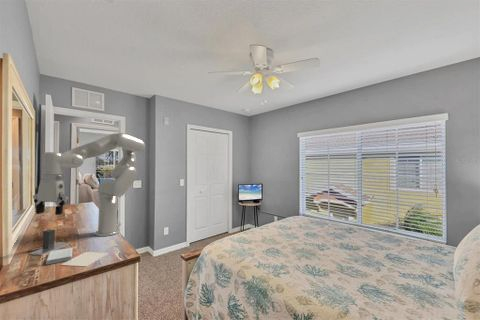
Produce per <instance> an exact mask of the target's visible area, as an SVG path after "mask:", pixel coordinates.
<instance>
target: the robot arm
mask: <svg viewBox="0 0 480 320" xmlns="http://www.w3.org/2000/svg"><path fill="white" fill-rule="evenodd" d="M117 148H121V151H122V157H121V159H120V160H119V162H118V163H117V165H116V166H115V167H114V168H113V169H112V171H111V177H112V178H113V179H104V180H102V181H100V183H99V184H98V187H97V192H98V193H97V194H98V221H97V223H98V224H97V230H96V231H94V235H95V236H97V237H108V236H114V235H116V234H119V233H120V231H121V230H120V229H119V228H118V227H120V226H121V225H122V223H121V222H118V210H119V209H118V205H119V204H118V203H119V201H118V198H119V197H123V196H125V194H126V193H127V192H128V191H129V190H130V188H131V186H132V185H133V183H134V182H135V180H136V179H137V176H138V170H137V168H136V167H134V166H135V165H136V162H137V157H136V154H140V153H142V152H144V151H145V149H146V144H145V142H144V141H143V140H142V139H139V138H137V137H135V136H132V135H130V134H127V133H123V132H117V133H115V132H114V133H111V134H109V135H105V136H103V137H101V138H99V139H96V140H94V141H91V142H88V143H85V144H83V145H79V146H77V147H74V148H72V149H69V150H67V151H64V152H62V153H61V152H55V151H53V152H52V151H51V152H50V151H45V152H44V153H43V155H42V162H41V163H42V164H41V179H40V181H39V185H38V190H37V193H36V194H34V195H32V198H33V201H34V203H35V206H36V210H35V212H36V215H40V214H44V213H45V203H54V204H55V205H56V206H55V213H54V214H55V215H56V216H58V215H62V214H64V213H63V211H64V209H63V208H64V206H65V204H66V203H67V201H68V199H69V196H68V195H66V194H65V192H66V191H65V182H64V180H63V179H64V176H63V171H64V170H63V168H67V169H68V168H69V169H75V168H76V169H77V168H79V167H81V166H82V165H83V164H84V162H85V161H84V160H86V159H90V158H95V157H96V158H97V157H101V156H103V155H105V154H107V153H108V152H110V151H112V150H114V149H117ZM117 230H118V231H119V233H118V231H117Z"/></svg>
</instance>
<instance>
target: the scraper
mask: <svg viewBox="0 0 480 320" xmlns="http://www.w3.org/2000/svg"><path fill="white" fill-rule="evenodd" d="M55 237H56V229H46V230H43V231H42V247H41V248H40V249H37V250H35V251H32V252H30V253H29V254H30V255H32V256H45V255H47V254H49V252H50V251H55V250H60V249H63V248H64V247H66V246H69V245H70V244H71V243H70V242H65V241H64V242H63V241H59V242H55Z"/></svg>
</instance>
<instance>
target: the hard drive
mask: <svg viewBox="0 0 480 320" xmlns="http://www.w3.org/2000/svg"><path fill="white" fill-rule="evenodd" d="M73 248H74V247H68V248H59V249H57V250H55V251H50V252H49V253H48V255H47V258H46V262H45V265H52V264H57V263H64V262H67V261H69V260H71V259H73Z"/></svg>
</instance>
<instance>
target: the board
mask: <svg viewBox="0 0 480 320" xmlns="http://www.w3.org/2000/svg"><path fill="white" fill-rule="evenodd" d="M107 255H109V252H96V251H95V252H93V251H92V252H91V251H85V252H83V253H81V254H79V255H77V256H75V257H74V258H73V257H72V259H71V260H68V261H64V262H62V263H61V264H60V266H70V267H82V268H83V267H84V268H86V267H88V266H90V265H92V264H93V263H95V262H97V261H98V260H101V259H102V258H103V257H105V256H107Z"/></svg>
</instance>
